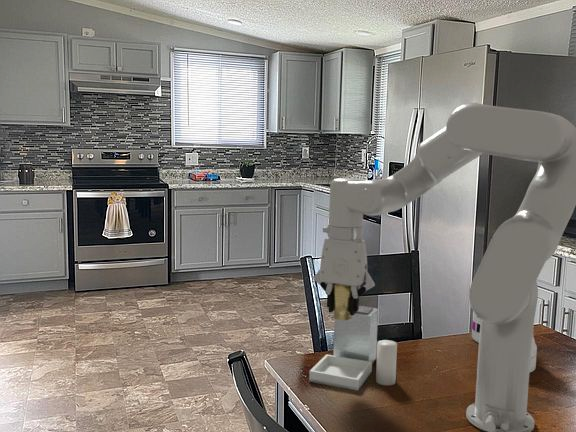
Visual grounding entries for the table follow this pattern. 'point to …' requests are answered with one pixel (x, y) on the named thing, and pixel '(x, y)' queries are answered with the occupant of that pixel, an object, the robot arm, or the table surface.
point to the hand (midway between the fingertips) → (342, 311)
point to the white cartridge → (386, 362)
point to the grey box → (357, 335)
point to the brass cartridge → (342, 302)
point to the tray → (340, 372)
